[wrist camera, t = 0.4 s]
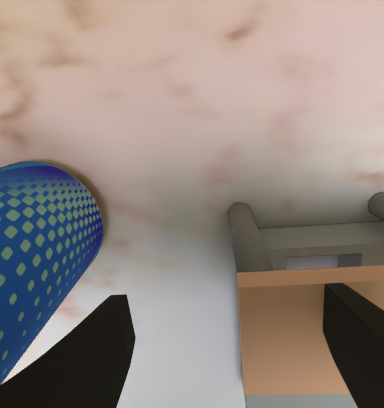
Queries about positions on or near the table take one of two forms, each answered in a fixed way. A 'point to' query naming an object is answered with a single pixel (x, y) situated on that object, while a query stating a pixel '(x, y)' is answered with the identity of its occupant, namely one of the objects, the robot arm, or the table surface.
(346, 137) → the table surface
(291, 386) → the raised peach slab
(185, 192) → the table surface
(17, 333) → the beer can
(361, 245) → the socket plate
